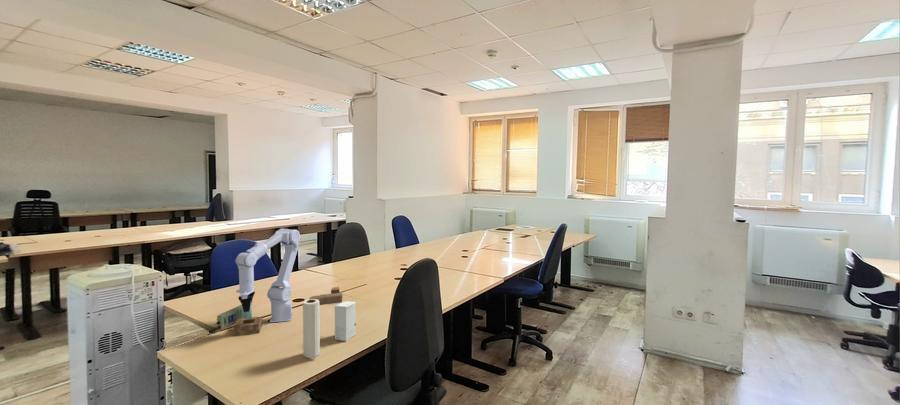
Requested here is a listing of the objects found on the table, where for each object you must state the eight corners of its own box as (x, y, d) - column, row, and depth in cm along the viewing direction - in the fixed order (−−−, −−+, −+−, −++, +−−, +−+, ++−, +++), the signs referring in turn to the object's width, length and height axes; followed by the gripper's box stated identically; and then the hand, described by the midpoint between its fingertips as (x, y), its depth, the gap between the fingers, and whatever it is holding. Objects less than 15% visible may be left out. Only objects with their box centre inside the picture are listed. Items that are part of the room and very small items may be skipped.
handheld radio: (252, 315, 195) (213, 335, 170) (246, 315, 195) (206, 334, 171) (251, 302, 194) (212, 320, 170) (245, 302, 195) (205, 319, 170)
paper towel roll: (307, 350, 155) (306, 298, 154) (322, 351, 155) (321, 298, 154) (299, 359, 148) (299, 304, 147) (315, 359, 148) (314, 304, 147)
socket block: (262, 324, 182) (262, 316, 181) (259, 333, 172) (259, 324, 172) (238, 327, 178) (237, 318, 178) (233, 335, 169) (233, 326, 169)
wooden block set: (343, 293, 216) (309, 296, 209) (343, 303, 216) (309, 306, 210) (340, 285, 232) (308, 288, 225) (340, 294, 232) (308, 297, 225)
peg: (252, 315, 175) (251, 295, 174) (251, 318, 171) (250, 298, 171) (243, 316, 173) (243, 296, 173) (242, 319, 170) (241, 298, 170)
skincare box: (346, 341, 164) (346, 307, 164) (333, 339, 166) (333, 305, 165) (356, 334, 172) (356, 301, 172) (344, 332, 174) (344, 299, 173)
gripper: (239, 276, 177) (240, 305, 178) (233, 285, 163) (234, 316, 164) (256, 275, 179) (257, 304, 180) (251, 283, 165) (252, 314, 166)
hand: (247, 310), depth 172 cm, fingers closed on peg, 3 cm apart
